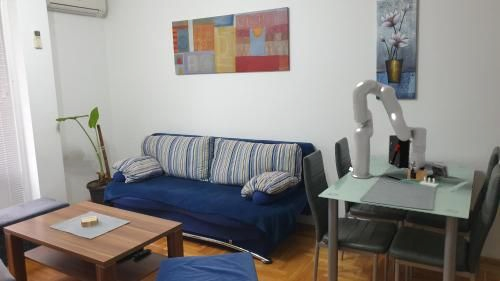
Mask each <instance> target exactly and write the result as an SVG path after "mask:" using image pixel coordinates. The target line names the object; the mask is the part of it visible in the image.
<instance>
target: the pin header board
mask: <svg viewBox="0 0 500 281" xmlns="http://www.w3.org/2000/svg"><path fill="white" fill-rule="evenodd" d="M406 178H408V176H407V177H406ZM398 181H399V182H403V183H408V184H414V185H418V186H423V187H427V188H432V189H438V188H442V187H443V186H445V185H448V183H447V182H443V181H439V180H436V179H435V178H432V179H431V177H427V180H426V177H424V181H418V180H413V179H412V180H407V179H406V180H405V178H402V179H400V180H398Z"/></svg>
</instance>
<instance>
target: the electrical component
mask: <svg viewBox="0 0 500 281" xmlns="http://www.w3.org/2000/svg"><path fill="white" fill-rule="evenodd" d="M388 139H389V141H388V164H390V165H393V166H394V167H395V168H397V169H399V170H401V169H406V168H408V169H410V155H411V153H410V151H411V144H412V139H411V138H410V139H409V140H407V141H402V140H400V139H399V138H398V137H397V135H396V134H394V135H393V134H391V135H389V138H388Z"/></svg>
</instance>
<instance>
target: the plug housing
mask: <svg viewBox="0 0 500 281" xmlns="http://www.w3.org/2000/svg"><path fill="white" fill-rule="evenodd" d="M419 169H420V168H418V169H417V170H416V179H413V180H418V181H424V177H426V180H427V179H428V170H425V169H424V170H419ZM414 170H415V169H414ZM410 173H411V172H410V168H408V169H407V177H408V179H411V178H410Z"/></svg>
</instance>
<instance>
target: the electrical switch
mask: <svg viewBox="0 0 500 281" xmlns="http://www.w3.org/2000/svg"><path fill="white" fill-rule="evenodd" d="M431 170H432V175H434V176H435V175H437V176H441V177H442V178H450V175H449V170H448V165H447V164H443V163H439V162H434V163H433V165H431Z"/></svg>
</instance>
